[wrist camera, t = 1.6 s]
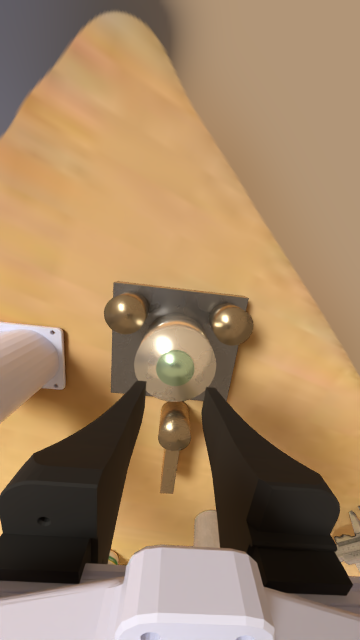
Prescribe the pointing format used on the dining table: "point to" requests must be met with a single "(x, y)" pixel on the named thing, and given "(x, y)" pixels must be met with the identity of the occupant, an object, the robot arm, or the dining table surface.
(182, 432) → the ball-topped bar
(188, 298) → the levelling base
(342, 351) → the dining table surface
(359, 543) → the caliper
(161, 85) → the dining table surface
